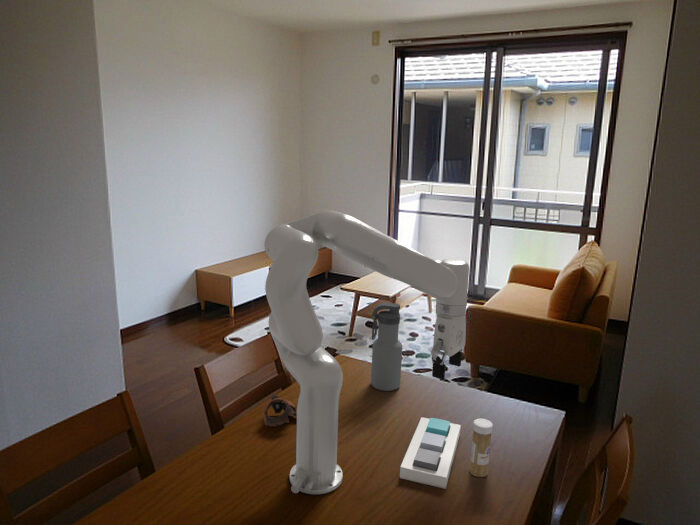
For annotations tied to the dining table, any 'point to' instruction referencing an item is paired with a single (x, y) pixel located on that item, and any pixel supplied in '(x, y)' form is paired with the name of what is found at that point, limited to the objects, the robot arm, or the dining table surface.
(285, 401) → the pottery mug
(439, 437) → the slate key
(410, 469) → the keypad frame
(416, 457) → the charcoal key
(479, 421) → the sprinkles bottle
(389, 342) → the water bottle
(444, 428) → the teal key
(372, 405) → the dining table surface
